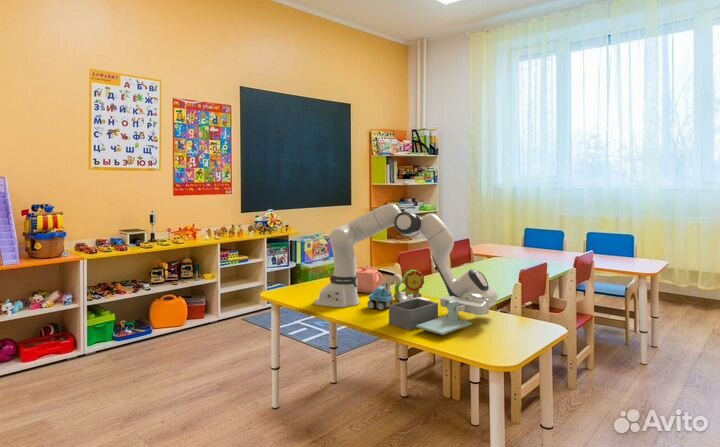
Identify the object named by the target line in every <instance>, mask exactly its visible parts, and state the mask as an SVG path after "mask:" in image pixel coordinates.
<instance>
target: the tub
mask: <svg viewBox="0 0 720 447" xmlns="http://www.w3.org/2000/svg"><path fill="white" fill-rule="evenodd" d="M437 318H439V302H435V301H431V300H430V301H427V300H423V299H419V298H415V299H411V300H408V301H404V302H400V301H399V302H397V303H392V305H389V307H388V324H389V325H392V326H395V327H398V328H401V329H404V330H408V331H412V330H415V329H418V328H417V327H416V325H419V324H422V323H425V322H428V321H431V320H434V319H437Z"/></svg>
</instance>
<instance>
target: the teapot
mask: <svg viewBox="0 0 720 447" xmlns="http://www.w3.org/2000/svg"><path fill="white" fill-rule="evenodd" d="M356 275H357V292H359V293H365V294H372V292H373V290H374V289H376V288H378V287H381V286H382V284H381V283H380V282H381V280H382V278H383V275H382V273H381V272H380V271H378V269H375V268H371V265H367V266H361V268H356Z"/></svg>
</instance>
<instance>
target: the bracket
mask: <svg viewBox="0 0 720 447" xmlns="http://www.w3.org/2000/svg"><path fill="white" fill-rule="evenodd" d="M399 292H400V301H399V303H400V302H404V301H408V300H411V299H415V298H413V295H412V294H411V295H408V296H407V297H406V294H405V292H401V291H399ZM418 298H419V299H423V300H427V301H431V299H429V298H426V297H422V296H421V297H418Z"/></svg>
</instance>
